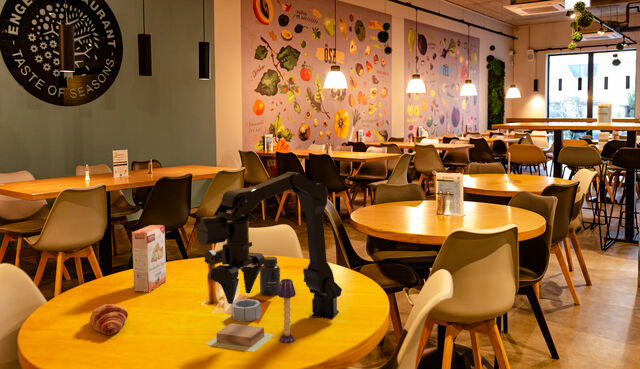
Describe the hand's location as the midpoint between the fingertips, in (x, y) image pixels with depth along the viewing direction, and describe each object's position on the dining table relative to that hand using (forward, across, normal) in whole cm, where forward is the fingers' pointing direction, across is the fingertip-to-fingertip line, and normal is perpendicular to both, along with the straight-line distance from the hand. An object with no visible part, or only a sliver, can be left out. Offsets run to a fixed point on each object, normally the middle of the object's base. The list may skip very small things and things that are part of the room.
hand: (239, 298), depth 146 cm
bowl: (+12, -16, -7) cm, 21 cm away
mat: (+12, 0, 0) cm, 12 cm away
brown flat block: (+11, 0, 0) cm, 11 cm away
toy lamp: (+12, -3, +12) cm, 17 cm away
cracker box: (+12, -33, -54) cm, 64 cm away
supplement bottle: (+12, -40, -11) cm, 43 cm away
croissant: (+12, +2, -41) cm, 43 cm away
